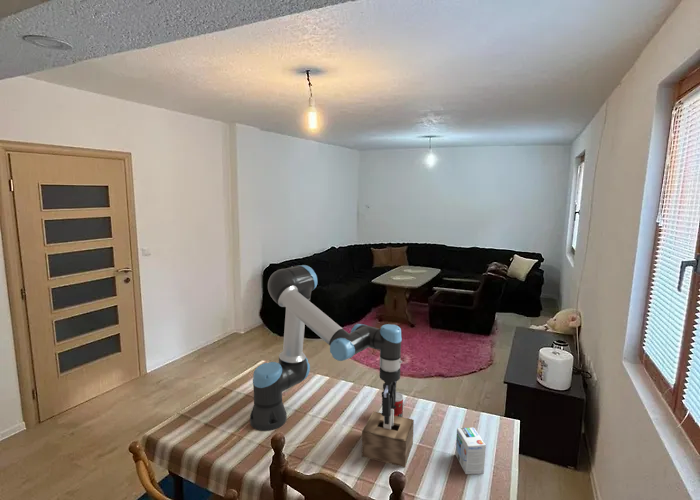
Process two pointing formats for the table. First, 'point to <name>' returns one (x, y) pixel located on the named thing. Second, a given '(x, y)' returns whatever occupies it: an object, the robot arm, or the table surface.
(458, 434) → the light bulb box
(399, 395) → the canned food
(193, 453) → the table surface
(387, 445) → the brown block with hole
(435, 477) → the table surface
